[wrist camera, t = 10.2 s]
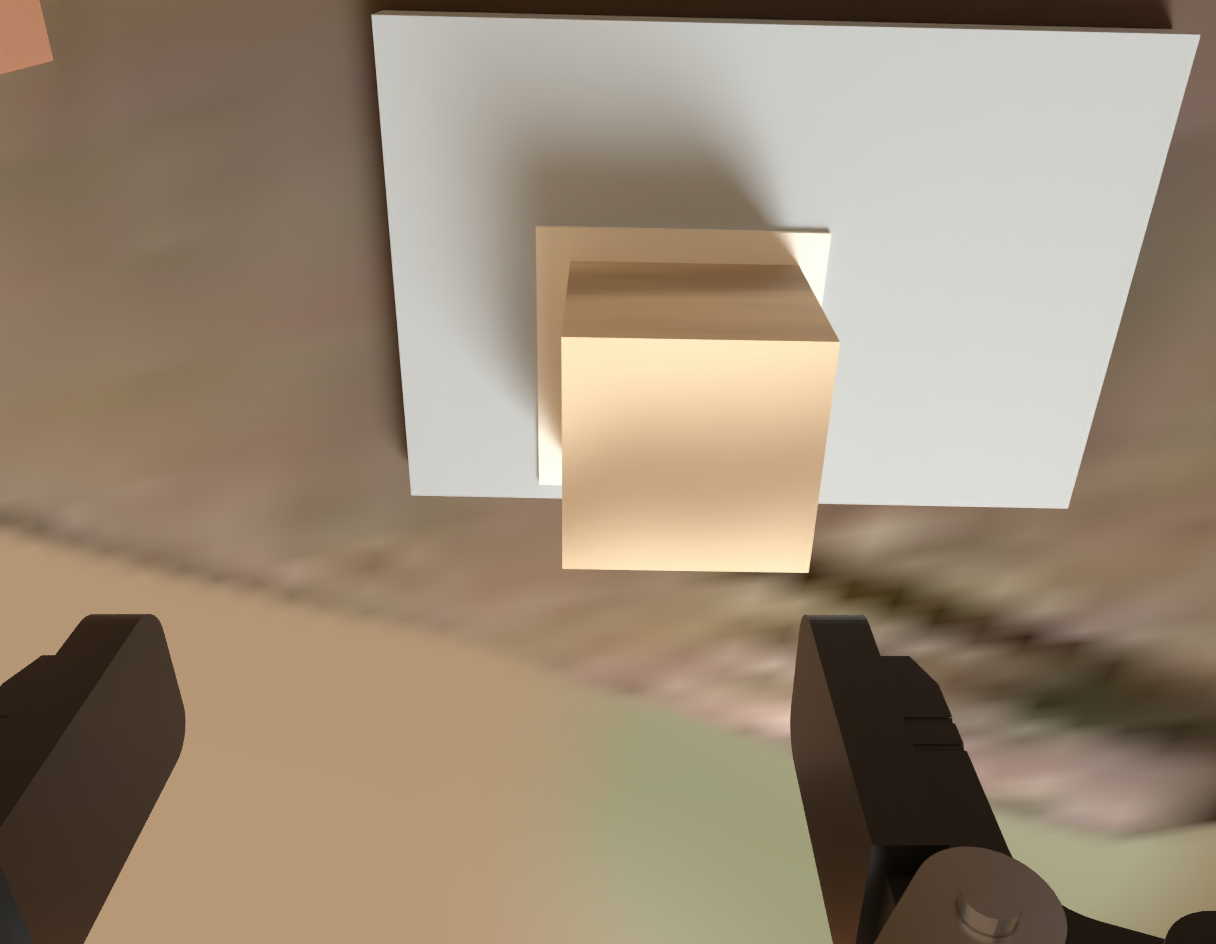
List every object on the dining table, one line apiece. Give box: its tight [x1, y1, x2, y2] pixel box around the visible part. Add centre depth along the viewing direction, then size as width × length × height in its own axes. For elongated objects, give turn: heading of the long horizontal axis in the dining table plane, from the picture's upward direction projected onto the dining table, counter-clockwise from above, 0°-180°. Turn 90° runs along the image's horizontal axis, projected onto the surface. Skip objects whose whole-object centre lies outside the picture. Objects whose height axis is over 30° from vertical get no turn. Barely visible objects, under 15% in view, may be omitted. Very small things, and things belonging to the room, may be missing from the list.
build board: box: [371, 10, 1200, 508], centre depth 25 cm, size 12×18×1 cm, turn 89°
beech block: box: [561, 261, 840, 573], centre depth 23 cm, size 6×6×5 cm
